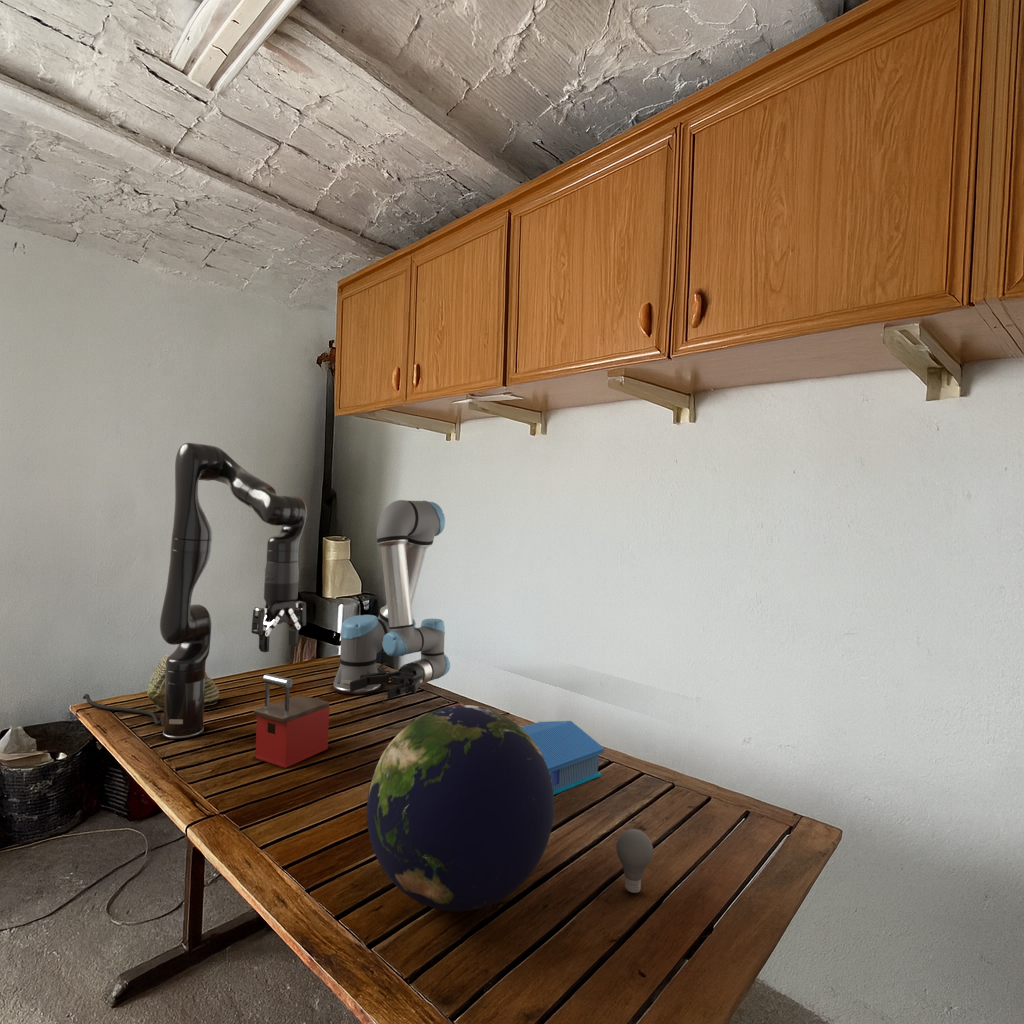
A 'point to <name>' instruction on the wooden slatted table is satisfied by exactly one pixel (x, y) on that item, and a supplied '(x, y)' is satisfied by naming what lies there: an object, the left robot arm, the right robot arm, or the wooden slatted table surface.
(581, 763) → the model building
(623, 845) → the light bulb
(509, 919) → the wooden slatted table surface
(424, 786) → the globe
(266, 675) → the lid
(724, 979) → the wooden slatted table surface
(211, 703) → the fossil
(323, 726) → the chest
